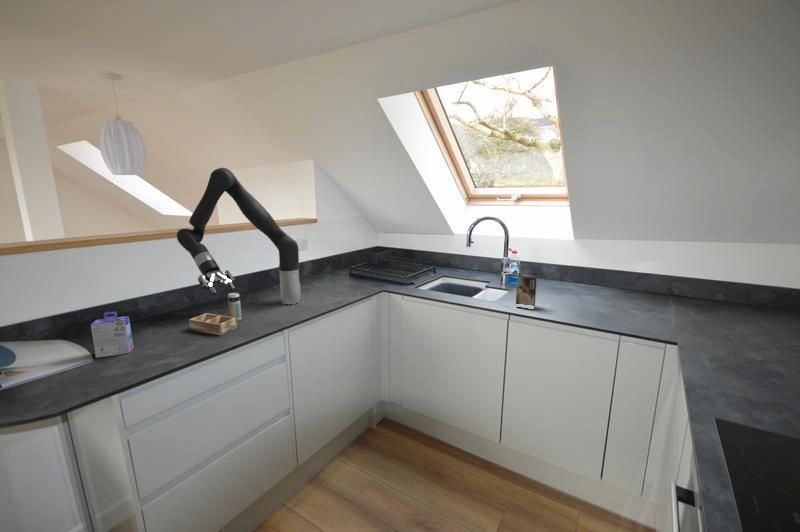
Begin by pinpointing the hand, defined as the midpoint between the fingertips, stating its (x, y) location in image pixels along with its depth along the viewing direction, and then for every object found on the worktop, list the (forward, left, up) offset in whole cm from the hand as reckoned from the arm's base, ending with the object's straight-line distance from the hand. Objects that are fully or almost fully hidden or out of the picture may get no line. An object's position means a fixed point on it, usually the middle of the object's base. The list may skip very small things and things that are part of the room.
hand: (224, 292), depth 162 cm
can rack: (+13, +6, -12) cm, 18 cm away
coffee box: (-66, +125, -12) cm, 142 cm away
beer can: (+1, +6, -12) cm, 14 cm away
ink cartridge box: (+42, -8, -12) cm, 45 cm away
